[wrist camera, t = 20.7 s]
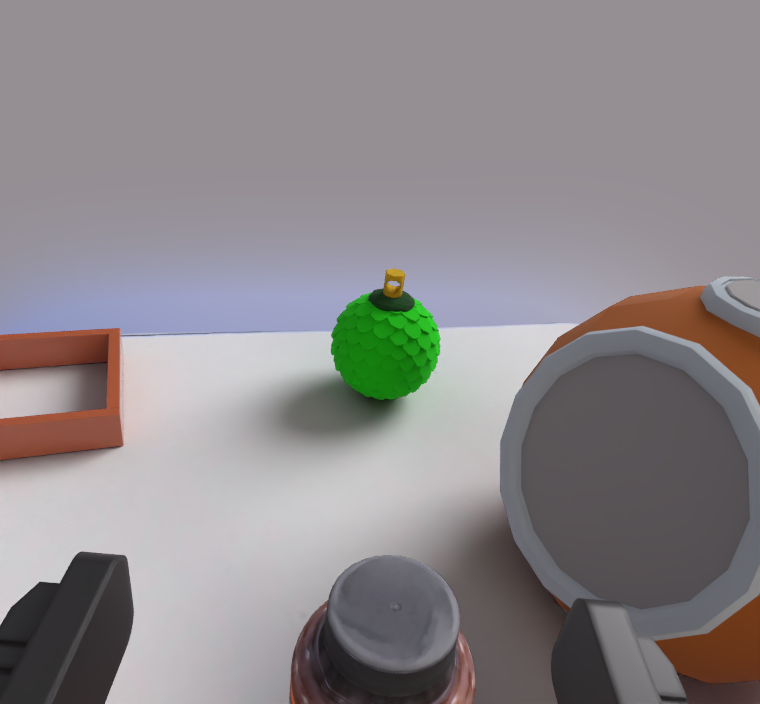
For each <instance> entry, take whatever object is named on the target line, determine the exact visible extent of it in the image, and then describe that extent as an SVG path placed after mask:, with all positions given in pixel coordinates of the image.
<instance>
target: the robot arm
mask: <svg viewBox="0 0 760 704" xmlns="http://www.w3.org/2000/svg"><path fill="white" fill-rule="evenodd" d="M133 616H134V608H133V600H132V592H131V584H130V576H129V568H128V561H127V558H126V556H124V555H114V554H103V553H92V552H80V553H78V554H77V555H76V556H75V557H74V559H73V560H72V562H71V564H70V565H69V567H68V569H67V571H66V573H65V575H64V576H63V578H62V580H61V582H60V584H59V583H47V582H39V583H38V584H37V585H36V586H35V587H34V588H32V589H31V590H30V591H29V592H28V593H27V594H26V595H25V596H24V597H22V598H21V599H20V600H19V601H18V602H17V603H16V604H15V605H13V606H12V607H11V609H10V610H9V612H8V614H7V615H6V617H5V619H4V620H3V622H2V624H1V625H0V704H105V701H106V699H107V696H108V694H109V691H110V689H111V686H112V684H113V681H114V678H115V676H116V673H117V671H118V668H119V666H120V663H121V660H122V658H123V655H124V653H125V650H126V647H127V645H128V641H129V638H130V634H131V630H132V624H133ZM551 671H552V680H553V685H554V690H555V694H556V698H557V702H558V704H688V703H687V696H686V693H685V691H684V689H683V686H682V684H681V682H680V679H679V677H678V675H677V672H676V670H675V667H674V665H673V664H672V663H671V662H670V660H669V659H668V658H667V657H666V655H665V654H664V653H663V652H662V650H661V649H660V648H659V647H658V645H657V644H656V643H655V642H654V640H653V639H652V638H651V637H647V636H636V634H635V631H634V628H633V626H632V623H631V621H630V618H629V615H628V613H627V611H626V609H625V607H624V606H623V605H622V604H621V603H620V602H617V601H606V600H595V599H584V598H577V599H576V600H575V601H574V602H573V604H572V607H571V609H570V611H569V613H568V616H567V618H566V620H565V622H564V625H563V627H562V629H561V631H560V634H559V636H558V638H557V640H556V643H555V645H554V648H553V652H552V660H551Z"/></svg>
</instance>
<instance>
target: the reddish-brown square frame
mask: <svg viewBox="0 0 760 704" xmlns="http://www.w3.org/2000/svg"><path fill="white" fill-rule="evenodd" d="M100 362H108V369H107V398H106V409H96V410H86V411H76V412H66V413H55V414H45V415H35V416H25V417H15V418H4V419H0V460H6V459H14V458H23V457H31V456H40V455H48V454H57V453H65V452H74V451H82V450H91V449H99V448H107V447H116V446H123V445H124V421H123V348H122V339H121V330H120V328H115V329H95V330H78V331H61V332H44V333H26V334H8V335H0V370H5V369H19V368H32V367H46V366H59V365H73V364H86V363H100Z"/></svg>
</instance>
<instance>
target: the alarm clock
mask: <svg viewBox="0 0 760 704" xmlns="http://www.w3.org/2000/svg"><path fill="white" fill-rule="evenodd" d="M500 493H501V496H502V499H503V503H504V506H505V510H506V513H507V517H508V520H509V524H510V527H511V531H512V534H513V538H514V541H515V542H516V544H517V546H518V547H519V549H520V550H521V552H522V553H523V555H524V556H525V558H526V560H527V561H528V563H529V564H530V566H531V567H532V569H533V570H534V572H535V574H536V575H537V577H538V578H539V580H540V581H541V583H542V584H543V586H544V587H545V588H546V589H547V590H548V591H550V593H551V594H552V596H553V597H554V599H555V600H556V602H557V603H558V605H559V606H561V607H562V609H563V611H564V612H566V613H567V614H568V613H569V611H570V609H571V607H572V604H573V602H574V601H575V600H576V599H577V598H584V599H595V600H606V601H617V602H620V603H621V604H622V605H623V606H624V607H625V609H626V611H627V613H628V615H629V618H630V621H631V623H632V626H633V628H634V631H635V634H636V636H647V637H651V638H652V639H653V640H654V642H655V643H656V644H657V645H658V647H659V648H660V649H661V650H662V652H663V653H664V654H665V655H666V657H667V658H668V659H669V660H670V662H671V663H672V664H673V665H674V667H675V670H676V672H677V673H680V674H683V675H686V676H689V677H692V678H695V679H697V680H700V681H703V682H706V683H709V684H718V683H731V682H743V681H756V680H760V280H759V279H754V278H749V277H720V278H719V279H717V280H715V281H713V282H712V283H710V284H709V285H707V286H695V287H688V288H682V289H675V290H669V291H663V292H656V293H649V294H643V295H636V296H630V297H628V298H626V299H624V300H622V301H620V302H618V303H616V304H614V305H612V306H610V307H608V308H607V309H605V310H603V311H602V312H600V313H598V314H597V315H595V316H593V317H592V318H590V319H588V320H587V321H585V322H583V323H581V324H580V325H578V326H576V327H575V328H573V329H571V330H570V331H568V332H566V333H565V334H563V335H561V336H560V337H558V338H557V340H556V341H555V342H554V344H553V345H552V346H551V348H550V349H549V350H548V351H547V353H546V354H545V355H544V357H543V358H542V359H541V360H540V362H539V363H538V364H537V366H536V367H535V368H534V369H533V371H532V372H531V373H530V375H529V376H528V377H527V379H526V380H525V381H524V383H523V385H522V388H521V389H520V390H519V392H518V393H517V394H516V396H515V399H514V402H513V405H512V408H511V411H510V414H509V417H508V420H507V423H506V426H505V429H504V432H503V435H502V438H501V443H500Z"/></svg>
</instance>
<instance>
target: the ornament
mask: <svg viewBox="0 0 760 704" xmlns="http://www.w3.org/2000/svg"><path fill="white" fill-rule="evenodd" d="M404 279H405V273H404V272H403V271H402V270H397V269H390V270H386V276H385V283H384V288H383V289H378V290H374V291H373V292H372V293H368V294H365V295H362V296H361V298H358V299H356V300H354V301H353V302H351V303H349V304H348V305H347V306H346V307H347V309H346V310H345V311H343V312H342V313H341V314H340V316H339V317H338V318H337V322H338V323H337V325H336V326H335V328H334V330H333V332H332V334H331V336H332V338H333V342H332V345H331V346H332V347H331V354H332V355H334V362H335V368H336V370H337V371H340V373H341V376H342V377H343V379H344V381H345V383H346V384H349V385H350V386H351V387H352V388H353V389H354V390H356V391H358V392H359V393H362V394H363V395H365V396H366V397H373V398H375V399H380V400H384V399H386V398H387V399H392V400H393V399H396V398H398V397H402V396H406V395H408V394H409V393H410V392H412V393H413V392H415V391H416V390H417V389H419V387H420V386H421V384H424V383H425V382H427V380H428V378H429V377H430V375H431V371H434V369H435V367H436V363H437V361H438V358H437V355H439V354H440V344H439V341H440V340H441V339H440V336H439V333H438V331H439V330H438V328H437V325H436V323H435V322H434V320H433V319H432V317H433V316H432V315H431V314H430V313H429V312H428V311H427V310H426V309H425V308H424V307H423V306H422V303H420V302H419V301H418V300H416V299H414V298H412V297H411V296H410V295H409V294H408V293H406V292H404V291H403V284H404ZM389 281H397V282H398V283H400V284H401V285H400V286H397V287H395V286H391V285H390V284H388V282H389Z"/></svg>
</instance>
